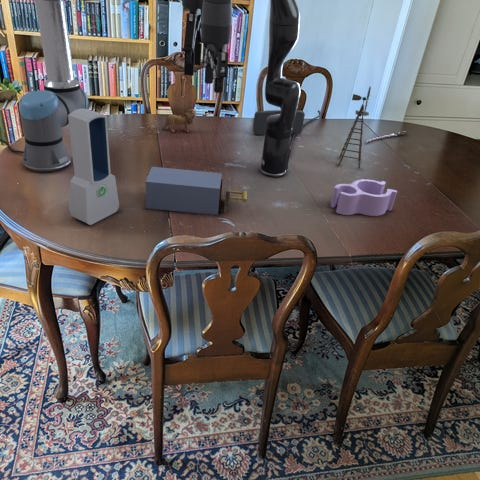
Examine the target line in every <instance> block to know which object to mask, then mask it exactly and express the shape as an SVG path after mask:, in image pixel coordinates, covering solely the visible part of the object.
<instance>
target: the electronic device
mask: <svg viewBox="0 0 480 480" xmlns="http://www.w3.org/2000/svg"><path fill="white" fill-rule="evenodd" d="M68 119H69V124H68V128H69V135H70V136H69V137H70V145H71V154H72V155H71V156H72V164H73V172H74V175H73V176H72V178H71V180H70V181H69V184H70V185H69V196H68V197H69V199H68V211H69V213H70V216H71V217H73V218H74V219H76V220H78V221H81V222H83V223H84V224H87V225H89V226H92V225H94V224H96V223H98V222H99V221H102V220H103V219H105V218H107V217H109V216H111V215H113V214H115V213H117V212H118V210H119V208H120V202H119V195H118V188H117V181H116V175H114V174H112V173H111V161H110V145H109V143H110V142H109V130H108V116H107V115H106V114H102V113H99V112H97V111H94V110H92V109H89V108H88V109H77V110H75V111H73V112H71V113H70V114H69V115H68Z"/></svg>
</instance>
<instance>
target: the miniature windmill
mask: <svg viewBox="0 0 480 480" xmlns="http://www.w3.org/2000/svg"><path fill="white" fill-rule="evenodd" d="M371 90H372V89H371V86H369V87H368V90H367V93H366V94H367V95H366V96H361V95H359V94H355V93H353V94H352V98H351V101H362V104H361V106H360V107H359V108H360V109H359V110H357V109H356V110H355V115H356V117H355V120H354V122H353V123H352V127H351V128H350V131H349V133H348V136H347V138H346V139H345V142H344V144H343V147H342V149H341V152H340V154H339V157H338V158H339V159H340V160H339V162H338V165H339V166H341V164H342V161H343V159H344V158H349V159H354V160H357V162H358V167H357V169H361V161H362V146H363V134H364V132H363V127H364V122H365V121H364V117H367V116H370V114H369V112H368V111H366V110H367V107H368V103H369V100H370V96H371V95H370V94H371ZM358 123H361V124H360V128H357V127H356V126H357V124H358ZM355 130H357V131H355ZM359 131H360V132H359ZM353 133H354V134H359V135H360V136H359V138H352V136H353ZM351 140H352V141H353V140H354V141H358V142H359V143H353V142H350V141H351ZM349 145H354V146H359V147H358V150H352V149H347V148H348V146H349ZM346 151H347V152H350V153H351V152H352V153H358V157H353V156H348V155H345V154H346Z"/></svg>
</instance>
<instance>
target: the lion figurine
mask: <svg viewBox="0 0 480 480" xmlns="http://www.w3.org/2000/svg"><path fill="white" fill-rule="evenodd" d="M196 119H197V110H195V109H194V108H190V109H188V110H187V111H186V112H184V113H183V114H182V115H175V114H169V115H168V116H167V117H166V119H165V121H164V126H163V128H161V130H162V131H164V130H170V131H171V132H172V133H175V129H173V127H174V125H175V124H176V125H179V126H183V130H184V131H185V132H186V133H189V132H190V130H189V128H190V127H189V126H190V125H193V123H194V122H195V121H196ZM168 126H169V127H168Z"/></svg>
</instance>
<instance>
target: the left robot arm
mask: <svg viewBox="0 0 480 480" xmlns="http://www.w3.org/2000/svg"><path fill="white" fill-rule="evenodd" d="M34 5H35V10H36V16H37V22H38V27H39V28H38V29H39V34H40V35H39V36H40V41H41V47H42V53H43V58H44V65H45V70H46V77H47V79H46V80H45V81H44V82H43V88H44V89H39V90H35V91H28V92H26V93H25V94H23V95H22V96H20V98H19V102H18V105H19V110H18V111H19V115H20V120H21V126H22V132H23V137H24V148H23V150H19V149H18V150H17V149H14V148H11V146H10V144H9V142H7V141H6V140H4V139H1V138H0V142H1V143H4V144H5V145H6V147H7V149H8V150H9V151H11V152H13V153H16V154H17V153H18V154H22V158H21V159H22V160H21V161H22V166H23V168H24V169H25V170H27V171H29V172H33V173H39V174H46V173H56V172H61V171H63V170H66V169H67V168H69V167H70V166H71V163H72V159H71V155H70V153H69V151H68V150H67V149H68V148H67V147H66V145H65V143H64V140H63V132H62V129H63V128H64V127H66V126H69V119H68V115H69V114H70V113H71V112H73V111H75V110H77V109H88V110H89V105H90V104H89V98H88V97H89V96H88V94H87V93H86V92H85V91H84V89H83V87H81V82H80V81H79V80H78V79H77V78H75V71H74V65H73V64H74V63H73V58H72V50H71V49H72V48H71V41H70V35H69V26H68V20H67V12H66V11H67V10H66V3H65V0H34ZM181 5H182V7H183V8H186V9H189V11H188V12H186V14H185V15H186V16H185V17H186V20H185V21H186V22H185V32H184V40H183V47H182V48H181V51H182V52H184V63H183V64H184V67H183V75H184V76H190V77H193V76H194V75H195V66H199V67H200V66H202V65H201V64H202V47H203V41H202V40H201V22H202V7H203V0H181Z"/></svg>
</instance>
